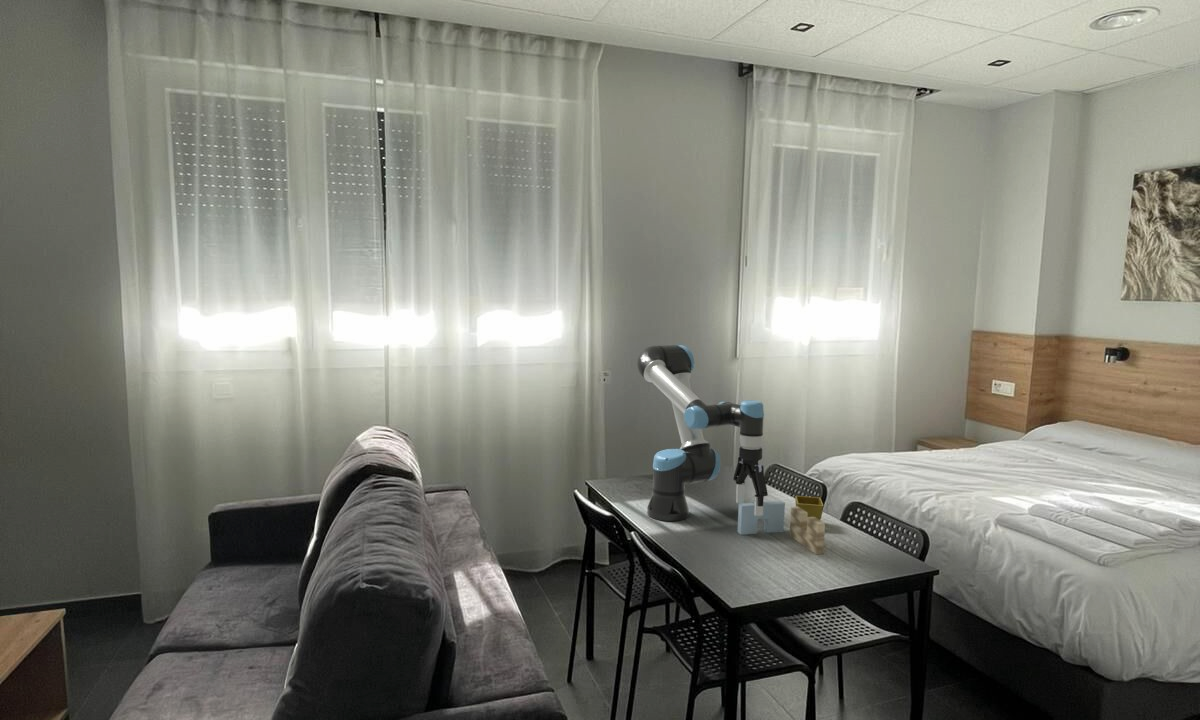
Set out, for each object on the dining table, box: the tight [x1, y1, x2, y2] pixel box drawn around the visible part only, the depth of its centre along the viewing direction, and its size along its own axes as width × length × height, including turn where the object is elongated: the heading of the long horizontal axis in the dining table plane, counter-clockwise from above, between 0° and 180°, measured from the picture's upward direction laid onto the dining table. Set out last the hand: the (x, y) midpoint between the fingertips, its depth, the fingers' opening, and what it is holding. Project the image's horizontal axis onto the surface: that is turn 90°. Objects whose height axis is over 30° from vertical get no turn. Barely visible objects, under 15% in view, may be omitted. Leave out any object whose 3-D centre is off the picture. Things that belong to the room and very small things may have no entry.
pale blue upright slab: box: [737, 500, 786, 536], centre depth 222 cm, size 16×2×10 cm, turn 104°
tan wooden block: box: [789, 506, 826, 555], centre depth 212 cm, size 16×2×10 cm, turn 14°
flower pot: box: [795, 495, 824, 521], centre depth 230 cm, size 9×9×9 cm
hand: (749, 508), depth 220 cm, fingers open, 13 cm apart
